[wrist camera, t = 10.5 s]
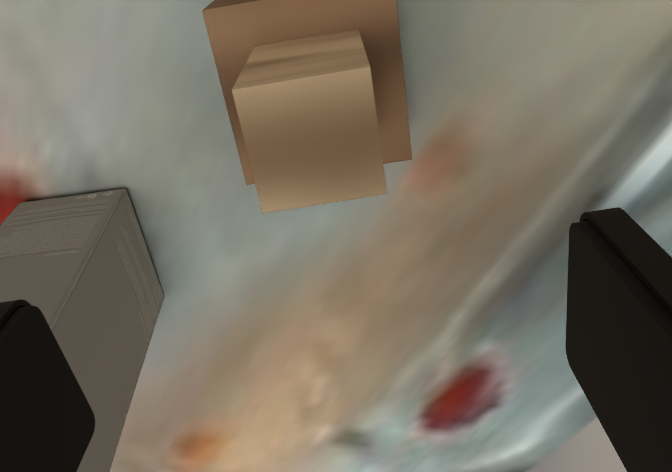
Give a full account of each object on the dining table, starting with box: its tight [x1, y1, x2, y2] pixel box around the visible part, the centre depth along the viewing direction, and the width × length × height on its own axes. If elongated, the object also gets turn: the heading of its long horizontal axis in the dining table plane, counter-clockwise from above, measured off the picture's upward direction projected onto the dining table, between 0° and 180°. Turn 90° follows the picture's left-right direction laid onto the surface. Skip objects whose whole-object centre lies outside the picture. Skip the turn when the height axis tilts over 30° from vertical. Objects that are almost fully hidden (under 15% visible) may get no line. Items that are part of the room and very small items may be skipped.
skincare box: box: [0, 189, 164, 472], centre depth 28 cm, size 8×7×16 cm
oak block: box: [232, 29, 387, 213], centre depth 23 cm, size 4×4×7 cm
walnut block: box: [202, 0, 412, 185], centre depth 28 cm, size 8×8×5 cm
